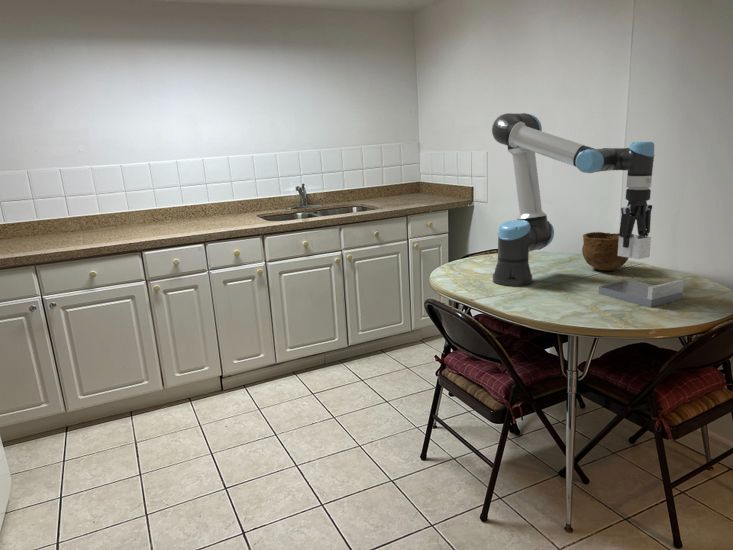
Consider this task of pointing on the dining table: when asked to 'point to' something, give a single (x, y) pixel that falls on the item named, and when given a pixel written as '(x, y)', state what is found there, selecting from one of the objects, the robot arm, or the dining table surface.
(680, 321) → the dining table surface
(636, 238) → the grey block
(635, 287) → the ledge
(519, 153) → the robot arm
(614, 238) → the bowl
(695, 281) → the dining table surface
